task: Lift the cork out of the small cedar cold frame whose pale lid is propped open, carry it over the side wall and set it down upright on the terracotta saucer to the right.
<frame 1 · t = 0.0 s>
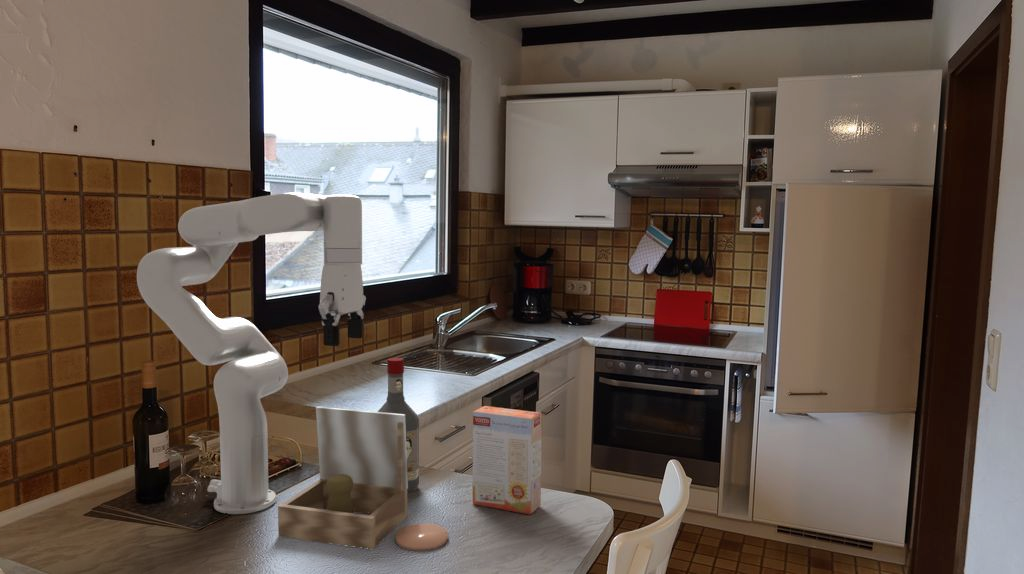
hand: (343, 341, 147), 37 cm above the countertop, tool pointing down, fingers open, 9 cm apart
cracker box: (506, 506, 158), on the countertop
liquor: (395, 489, 167), on the countertop
cold frame: (345, 526, 146), on the countertop
saucer: (421, 539, 141), on the countertop
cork: (340, 531, 144), resting in cold frame
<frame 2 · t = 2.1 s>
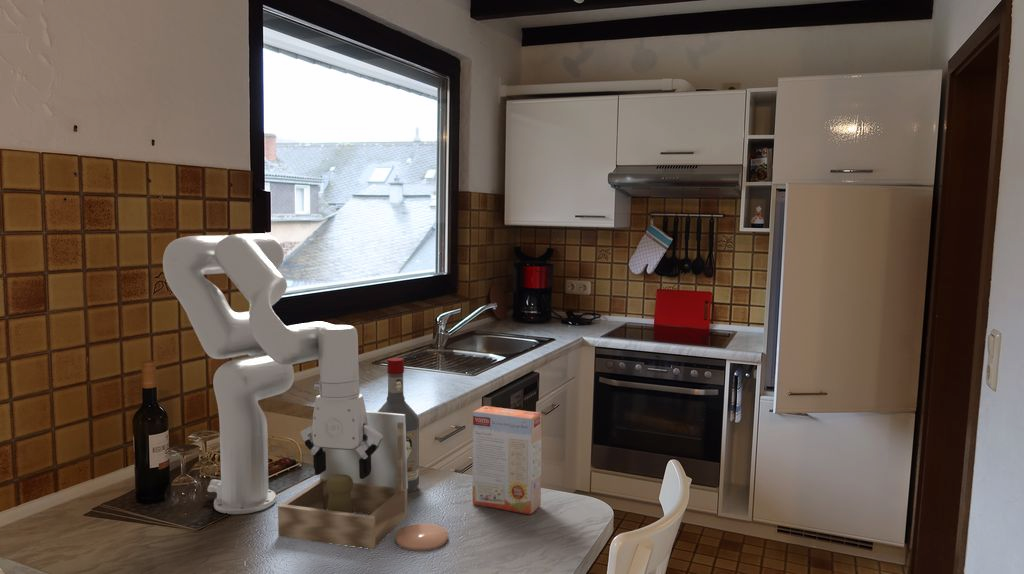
hand: (342, 474, 143), 11 cm above the countertop, tool pointing down, fingers open, 9 cm apart
nothing on the countertop moved.
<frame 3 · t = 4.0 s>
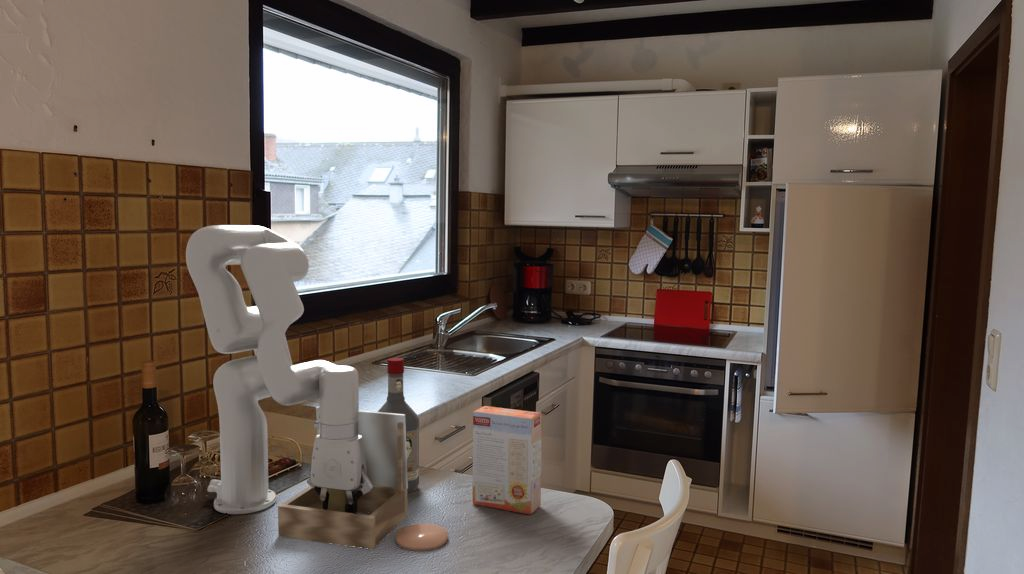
hand: (340, 518, 144), 2 cm above the countertop, tool pointing down, fingers closed on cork, 4 cm apart
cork: (340, 531, 144), resting in cold frame, touching gripper
everything else where it was.
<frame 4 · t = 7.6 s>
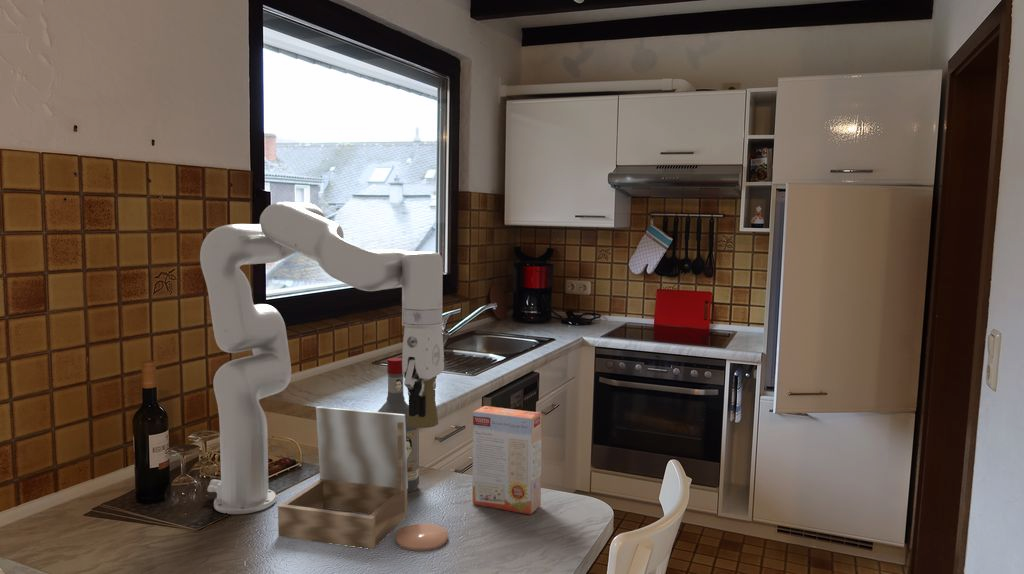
hand: (422, 411, 138), 25 cm above the countertop, tool pointing down, fingers closed on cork, 4 cm apart
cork: (422, 424, 139), point 23 cm above the countertop, touching gripper
everything else where it was.
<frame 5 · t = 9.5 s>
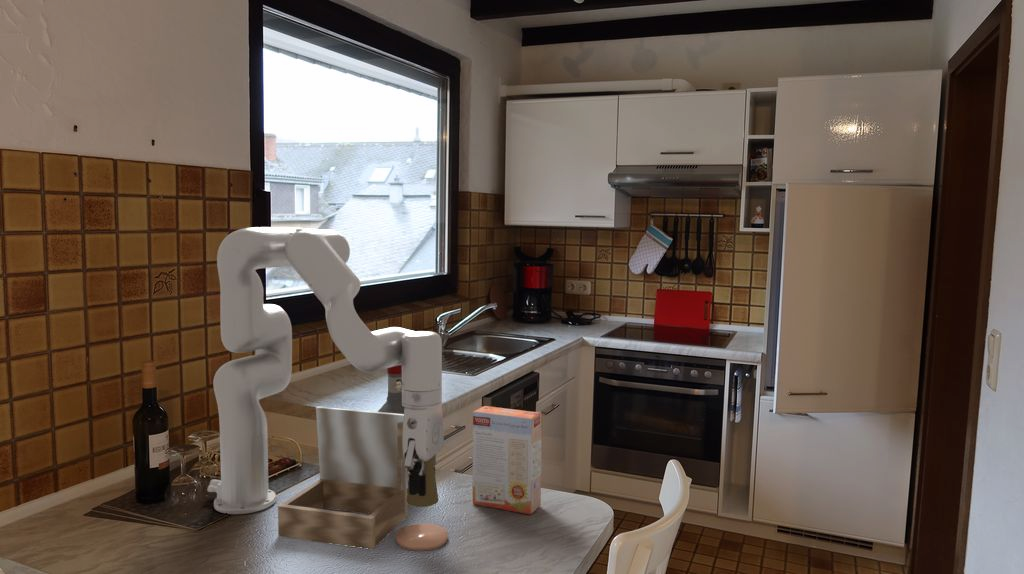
hand: (422, 489, 140), 10 cm above the countertop, tool pointing down, fingers closed on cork, 4 cm apart
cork: (422, 501, 140), point 7 cm above the countertop, touching gripper
everything else where it was.
when the fingers open (5 cm above the countertop, at t = 11.2 s): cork drops 1 cm, resting on saucer.
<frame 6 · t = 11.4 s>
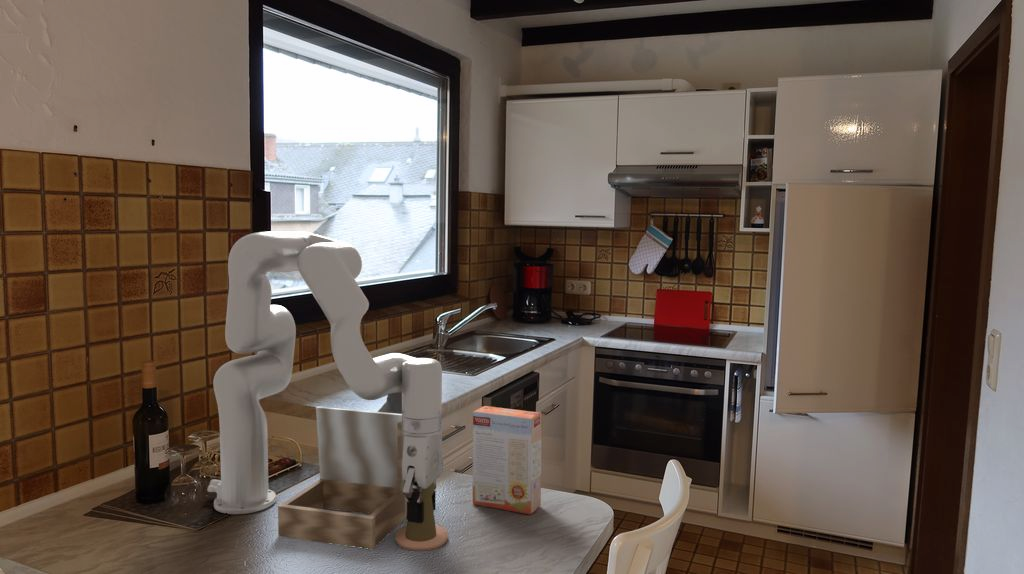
hand: (421, 514, 140), 5 cm above the countertop, tool pointing down, fingers open, 5 cm apart
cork: (420, 535, 140), point 1 cm above the countertop, touching gripper, saucer
everything else where it was.
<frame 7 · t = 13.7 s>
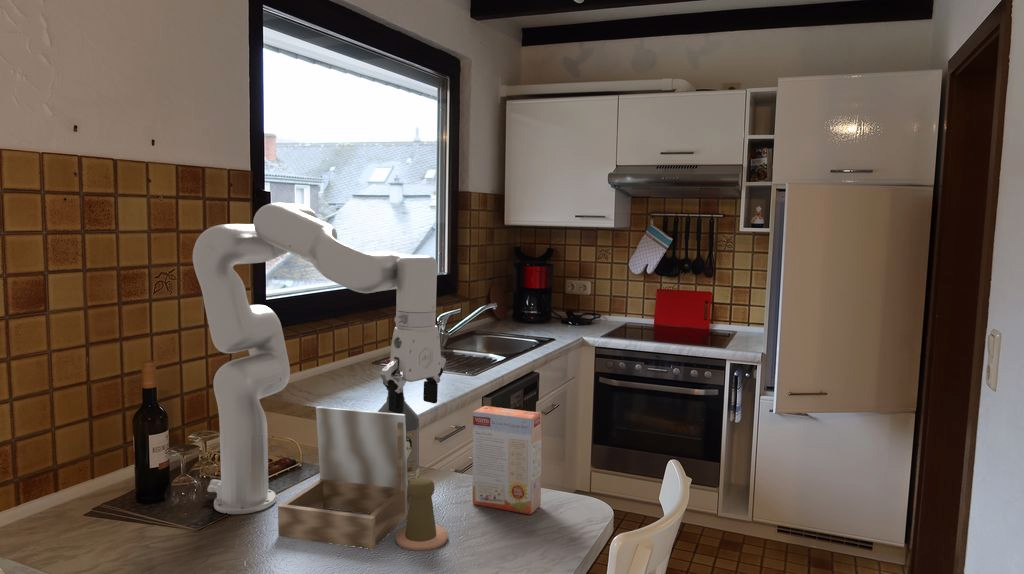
hand: (413, 406, 141), 25 cm above the countertop, tool pointing down, fingers open, 9 cm apart
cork: (420, 535, 140), point 1 cm above the countertop, touching saucer
everything else where it was.
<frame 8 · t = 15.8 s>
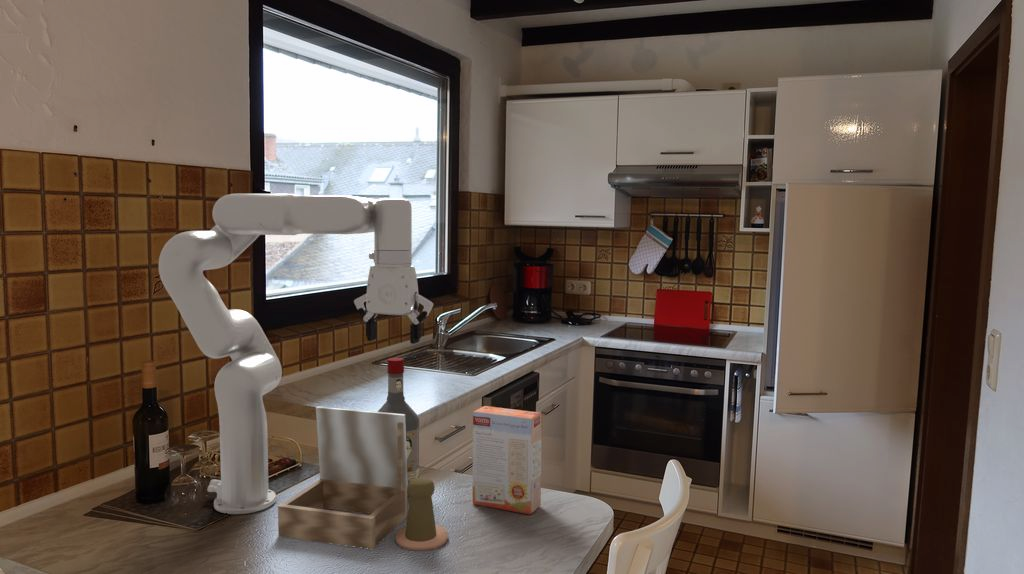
hand: (393, 341, 151), 36 cm above the countertop, tool pointing down, fingers open, 9 cm apart
nothing on the countertop moved.
at the end: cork inside the target area on the saucer (0.3 cm from its centre), point 0.8 cm above the saucer's base; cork tilted 0°; the gripper is holding nothing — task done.
